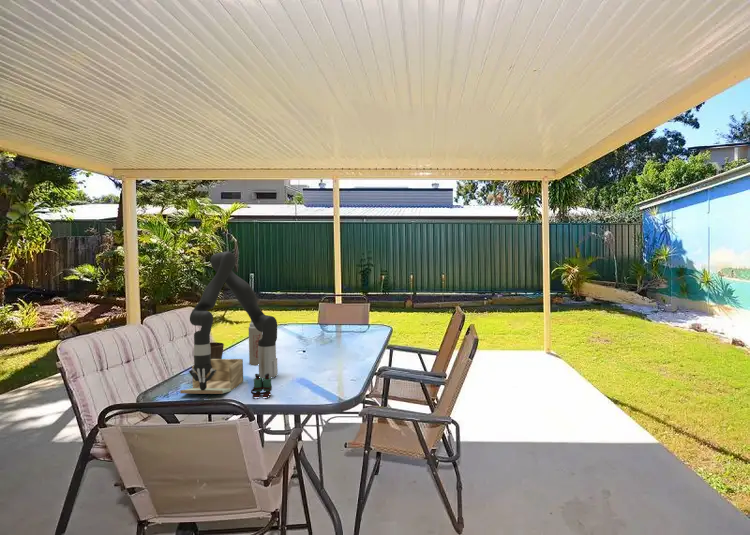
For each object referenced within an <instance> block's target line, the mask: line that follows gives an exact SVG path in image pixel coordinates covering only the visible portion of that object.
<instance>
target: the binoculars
mask: <svg viewBox="0 0 750 535" xmlns="http://www.w3.org/2000/svg"><path fill="white" fill-rule="evenodd" d="M259 376H260V375H259V373H255V374H254V379H253V387H252V389H251V390H250V394H251V395H252V398H253V397H259V396H260V397H262V398H263V397H268V396H271V395H272V390H273V387H272V378H269V373H268V374H265V378H263V379H262V378H259ZM269 394H271V395H269ZM261 395H262V396H261Z"/></svg>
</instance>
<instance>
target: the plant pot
mask: <svg viewBox="0 0 750 535" xmlns="http://www.w3.org/2000/svg"><path fill="white" fill-rule="evenodd" d="M210 347H211V359H223V354H224V347H225V344H224V342H219V341H218V342H217V341H216V342H215V341H213V342H211V341H210Z"/></svg>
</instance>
